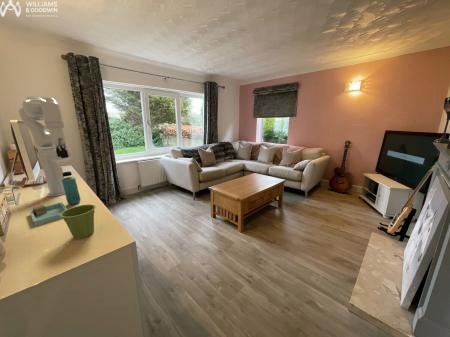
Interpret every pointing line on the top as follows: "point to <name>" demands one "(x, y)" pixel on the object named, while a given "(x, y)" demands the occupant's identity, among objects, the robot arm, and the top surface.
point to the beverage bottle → (70, 188)
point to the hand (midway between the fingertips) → (63, 157)
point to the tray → (49, 214)
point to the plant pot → (80, 220)
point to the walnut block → (39, 210)
